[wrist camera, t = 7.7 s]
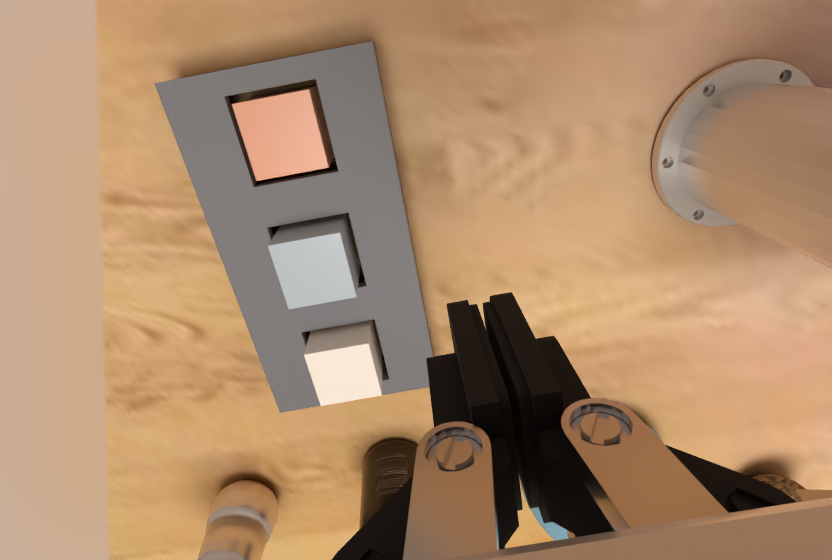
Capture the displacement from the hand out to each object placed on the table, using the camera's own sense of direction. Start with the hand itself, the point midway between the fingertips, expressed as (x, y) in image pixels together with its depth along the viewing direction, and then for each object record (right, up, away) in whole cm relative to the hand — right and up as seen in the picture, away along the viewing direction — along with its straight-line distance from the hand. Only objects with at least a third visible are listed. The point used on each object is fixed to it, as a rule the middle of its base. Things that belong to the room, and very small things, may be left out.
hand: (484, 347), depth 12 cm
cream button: (-8, -4, +29) cm, 30 cm away
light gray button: (-9, +4, +25) cm, 27 cm away
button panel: (-9, +5, +27) cm, 29 cm away
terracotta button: (-11, +13, +23) cm, 29 cm away
